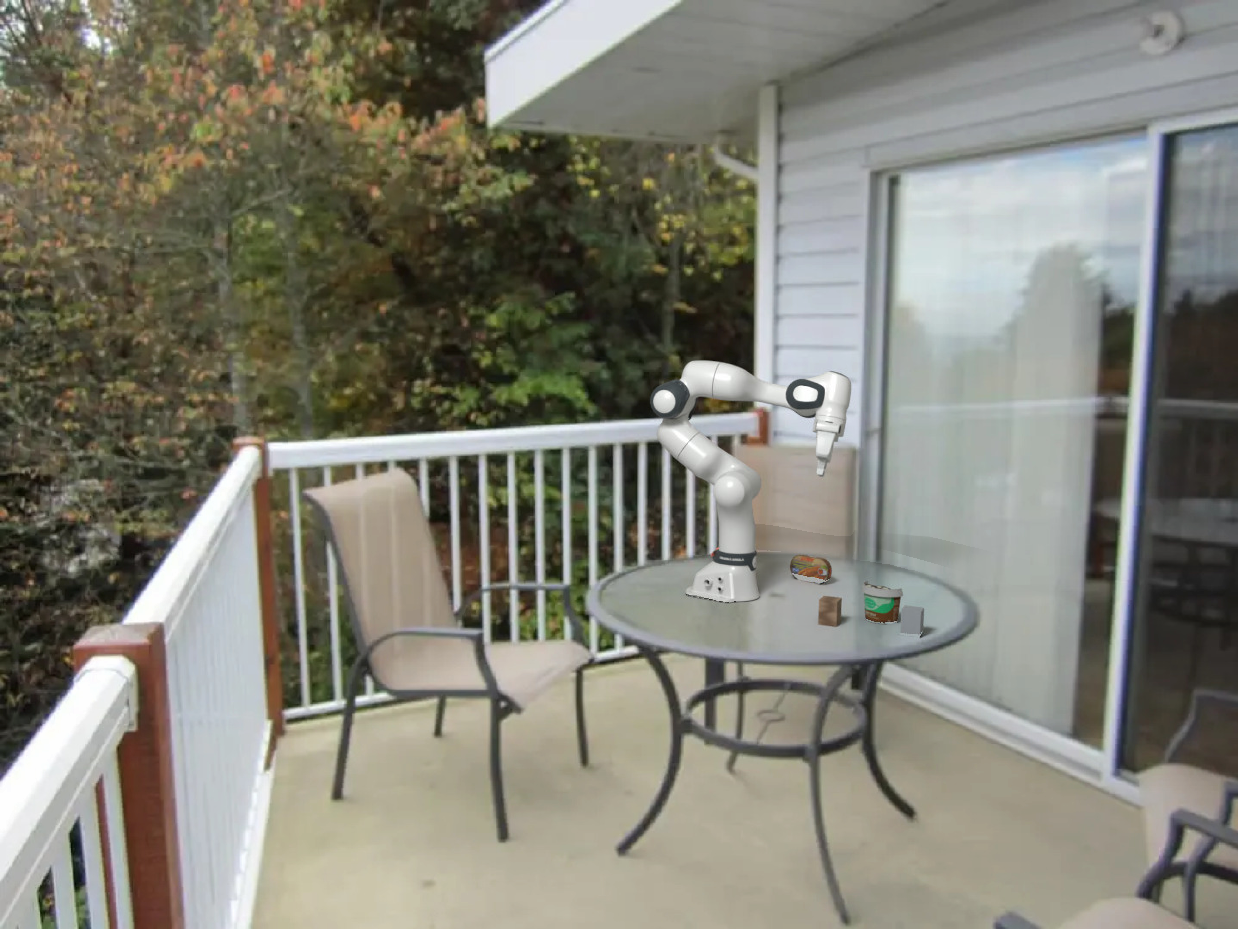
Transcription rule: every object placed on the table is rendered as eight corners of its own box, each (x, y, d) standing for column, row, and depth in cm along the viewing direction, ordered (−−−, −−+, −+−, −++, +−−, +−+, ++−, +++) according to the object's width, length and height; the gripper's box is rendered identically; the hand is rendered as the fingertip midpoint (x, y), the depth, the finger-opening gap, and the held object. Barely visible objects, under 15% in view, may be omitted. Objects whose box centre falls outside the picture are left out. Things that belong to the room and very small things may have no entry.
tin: (789, 578, 322) (789, 553, 321) (794, 576, 324) (795, 551, 323) (827, 586, 311) (827, 560, 310) (833, 585, 313) (833, 559, 312)
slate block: (900, 635, 259) (901, 609, 258) (903, 630, 263) (904, 605, 263) (919, 638, 257) (920, 612, 256) (923, 633, 261) (924, 607, 260)
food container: (851, 618, 275) (852, 583, 274) (864, 614, 279) (865, 580, 278) (888, 628, 266) (890, 592, 264) (902, 624, 269) (903, 588, 268)
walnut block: (818, 624, 269) (818, 599, 268) (823, 620, 273) (823, 595, 272) (836, 627, 267) (837, 602, 266) (840, 622, 271) (841, 597, 270)
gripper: (819, 430, 293) (810, 475, 292) (816, 422, 273) (807, 471, 273) (840, 433, 291) (832, 479, 291) (839, 426, 271) (830, 475, 271)
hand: (820, 475), depth 282 cm, fingers open, 8 cm apart
